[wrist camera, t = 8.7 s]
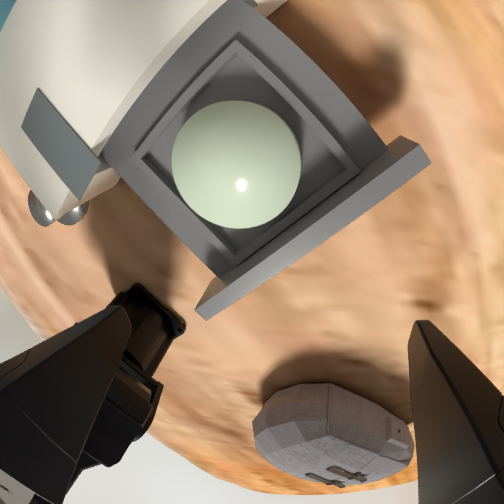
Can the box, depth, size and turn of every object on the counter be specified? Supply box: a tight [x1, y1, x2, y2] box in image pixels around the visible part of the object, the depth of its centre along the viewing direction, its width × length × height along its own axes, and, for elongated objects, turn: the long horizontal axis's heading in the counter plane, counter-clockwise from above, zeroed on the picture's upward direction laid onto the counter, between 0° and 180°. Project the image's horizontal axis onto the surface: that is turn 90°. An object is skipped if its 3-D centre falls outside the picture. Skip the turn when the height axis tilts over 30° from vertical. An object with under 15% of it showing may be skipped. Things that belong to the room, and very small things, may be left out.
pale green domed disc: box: [172, 101, 302, 229], centre depth 15 cm, size 6×6×2 cm
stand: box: [28, 190, 88, 227], centre depth 22 cm, size 6×6×4 cm
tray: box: [100, 0, 431, 321], centre depth 14 cm, size 13×15×3 cm
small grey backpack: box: [252, 383, 414, 488], centre depth 27 cm, size 15×8×20 cm
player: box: [0, 0, 288, 220], centre depth 13 cm, size 15×20×7 cm
